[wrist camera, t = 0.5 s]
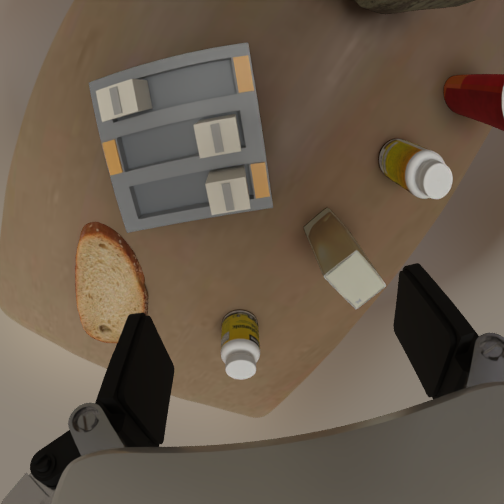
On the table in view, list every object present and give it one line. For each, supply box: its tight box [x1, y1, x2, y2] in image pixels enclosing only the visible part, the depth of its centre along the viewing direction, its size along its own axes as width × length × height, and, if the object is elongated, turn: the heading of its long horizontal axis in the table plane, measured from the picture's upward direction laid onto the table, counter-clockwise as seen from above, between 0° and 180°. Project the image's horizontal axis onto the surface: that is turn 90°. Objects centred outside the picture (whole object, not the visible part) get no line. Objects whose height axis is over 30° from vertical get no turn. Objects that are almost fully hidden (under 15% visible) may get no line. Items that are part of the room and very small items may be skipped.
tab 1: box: [193, 114, 241, 158], centre depth 31 cm, size 3×4×6 cm
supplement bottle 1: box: [221, 310, 260, 379], centre depth 44 cm, size 5×5×10 cm
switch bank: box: [89, 43, 273, 233], centre depth 33 cm, size 19×18×3 cm
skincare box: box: [304, 208, 386, 309], centre depth 36 cm, size 6×4×12 cm
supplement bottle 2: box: [379, 139, 453, 199], centre depth 32 cm, size 6×6×10 cm
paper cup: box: [444, 74, 504, 131], centre depth 26 cm, size 8×8×14 cm
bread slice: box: [75, 222, 148, 343], centre depth 43 cm, size 18×18×4 cm
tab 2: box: [205, 165, 251, 215], centre depth 34 cm, size 3×4×6 cm
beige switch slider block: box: [96, 79, 152, 122], centre depth 28 cm, size 3×4×6 cm
